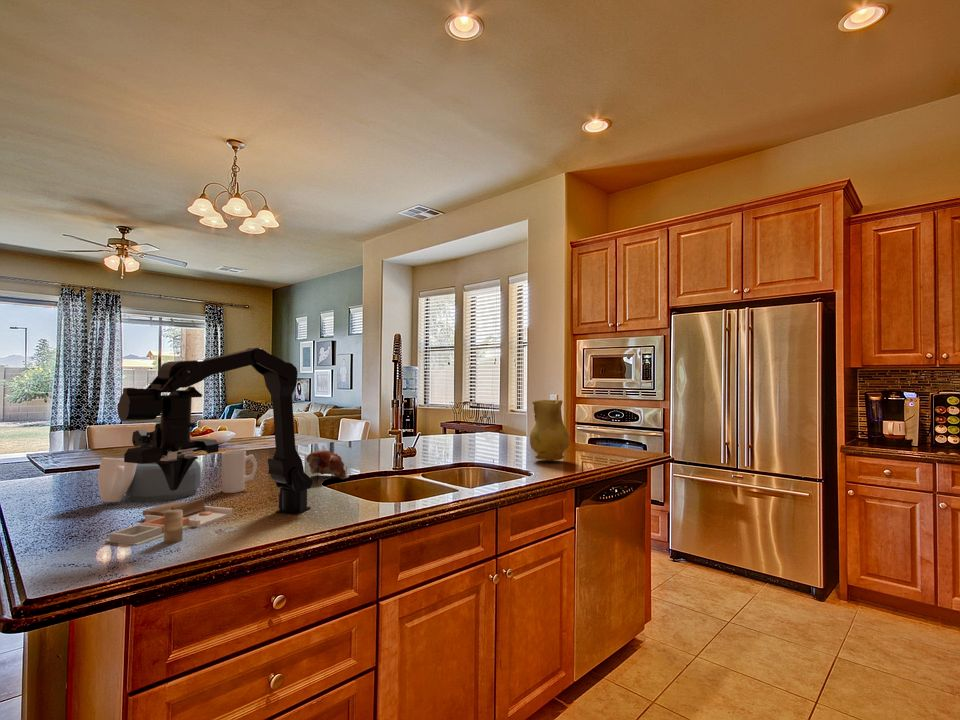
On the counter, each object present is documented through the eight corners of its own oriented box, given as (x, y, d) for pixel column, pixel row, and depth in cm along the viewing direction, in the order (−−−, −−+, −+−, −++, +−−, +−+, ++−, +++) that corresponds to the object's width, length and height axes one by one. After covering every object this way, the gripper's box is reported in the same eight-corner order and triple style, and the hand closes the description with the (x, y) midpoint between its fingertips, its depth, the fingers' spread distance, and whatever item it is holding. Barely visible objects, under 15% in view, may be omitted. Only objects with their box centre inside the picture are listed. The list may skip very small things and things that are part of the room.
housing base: (232, 516, 129) (232, 508, 129) (197, 529, 119) (197, 520, 119) (182, 511, 133) (182, 503, 134) (144, 523, 123) (144, 515, 123)
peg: (185, 542, 110) (186, 510, 110) (172, 547, 106) (173, 514, 107) (173, 540, 111) (174, 508, 111) (159, 546, 107) (160, 513, 108)
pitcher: (528, 460, 211) (528, 401, 211) (531, 453, 229) (531, 398, 229) (569, 462, 208) (570, 401, 208) (569, 454, 226) (569, 399, 227)
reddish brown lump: (355, 477, 177) (355, 448, 178) (327, 483, 167) (327, 453, 167) (323, 472, 186) (324, 445, 186) (295, 478, 175) (295, 449, 175)
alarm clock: (201, 484, 164) (201, 447, 165) (199, 498, 147) (200, 456, 147) (130, 490, 156) (131, 451, 156) (119, 506, 138) (120, 462, 138)
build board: (192, 528, 119) (192, 518, 119) (137, 549, 105) (137, 537, 106) (162, 525, 121) (162, 515, 121) (105, 544, 108) (105, 533, 108)
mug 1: (91, 498, 139) (100, 457, 141) (127, 499, 144) (135, 459, 146) (93, 504, 130) (103, 460, 132) (132, 505, 135) (141, 461, 137)
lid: (204, 509, 130) (204, 498, 130) (174, 518, 122) (175, 507, 122) (173, 506, 133) (174, 495, 133) (142, 515, 124) (142, 504, 124)
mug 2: (221, 494, 152) (222, 454, 152) (220, 489, 157) (221, 451, 158) (257, 490, 156) (258, 452, 157) (255, 486, 162) (256, 449, 163)
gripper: (185, 414, 122) (183, 479, 121) (106, 420, 104) (103, 496, 103) (221, 416, 118) (219, 483, 117) (145, 422, 100) (142, 501, 100)
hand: (173, 490), depth 110 cm, fingers closed
